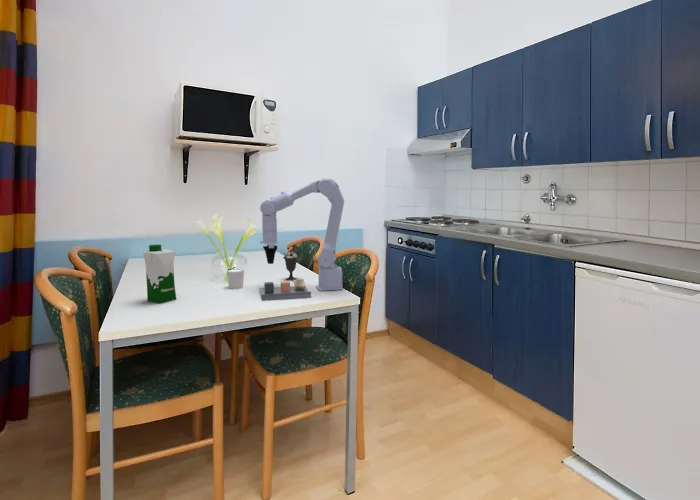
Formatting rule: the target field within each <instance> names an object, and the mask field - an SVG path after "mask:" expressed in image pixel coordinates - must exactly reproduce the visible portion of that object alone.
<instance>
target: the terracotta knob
mask: <svg viewBox="0 0 700 500" xmlns="http://www.w3.org/2000/svg"><path fill="white" fill-rule="evenodd" d="M280 287H281V293H290V287H291V282H290V280H284V281H283V280H282V281H280Z"/></svg>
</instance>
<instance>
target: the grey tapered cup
mask: <svg viewBox="0 0 700 500" xmlns="http://www.w3.org/2000/svg"><path fill="white" fill-rule="evenodd" d="M226 275H227V284H228V288H229V289H233V290H234V289H235V290H236V289H237V290H238V289H242V288H243V287H244V277H245V269H239V268H235V269H234V268H233V269H228V270H226Z"/></svg>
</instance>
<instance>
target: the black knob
mask: <svg viewBox="0 0 700 500" xmlns="http://www.w3.org/2000/svg"><path fill="white" fill-rule="evenodd" d="M263 283H264V287H263V288H264V289H265V294H274V287H275V286H274V285H275V284H274V282H273V281H267V282H266V281H265V282H263Z"/></svg>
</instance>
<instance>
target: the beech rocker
mask: <svg viewBox="0 0 700 500" xmlns="http://www.w3.org/2000/svg"><path fill="white" fill-rule="evenodd" d="M292 281H293V286H295V288H307V285H306V282H305V279H303V278H300V279H296V280H292Z"/></svg>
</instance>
